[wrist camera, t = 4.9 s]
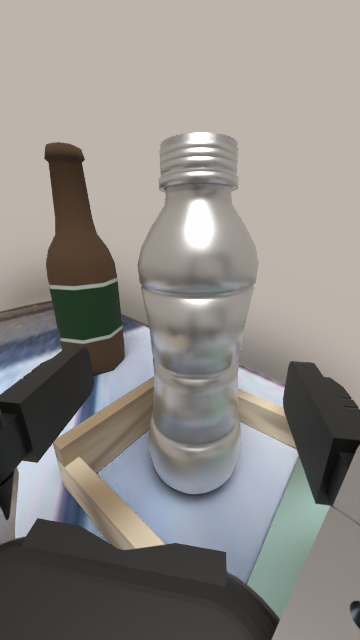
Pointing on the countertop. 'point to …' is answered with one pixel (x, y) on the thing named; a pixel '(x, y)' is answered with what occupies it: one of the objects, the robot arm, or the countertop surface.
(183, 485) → the plastic bottle
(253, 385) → the countertop surface
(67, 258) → the beer bottle
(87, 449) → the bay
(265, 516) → the countertop surface
